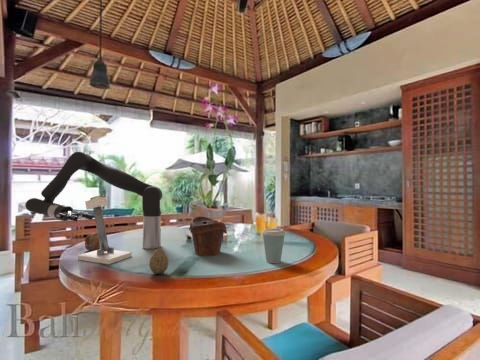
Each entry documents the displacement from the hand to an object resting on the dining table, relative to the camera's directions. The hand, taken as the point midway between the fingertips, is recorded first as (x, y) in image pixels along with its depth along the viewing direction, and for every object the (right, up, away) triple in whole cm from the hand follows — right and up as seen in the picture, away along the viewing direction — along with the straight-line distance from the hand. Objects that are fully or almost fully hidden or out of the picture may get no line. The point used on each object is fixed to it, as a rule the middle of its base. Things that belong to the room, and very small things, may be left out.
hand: (84, 218), depth 135 cm
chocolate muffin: (+59, -19, +8) cm, 62 cm away
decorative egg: (+43, -19, -26) cm, 54 cm away
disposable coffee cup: (+90, -20, -5) cm, 93 cm away
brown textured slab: (-2, -18, +13) cm, 22 cm away
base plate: (+12, -18, -5) cm, 22 cm away
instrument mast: (+12, -16, -5) cm, 21 cm away
